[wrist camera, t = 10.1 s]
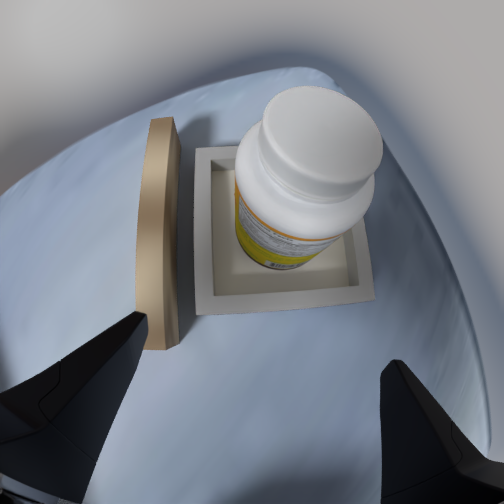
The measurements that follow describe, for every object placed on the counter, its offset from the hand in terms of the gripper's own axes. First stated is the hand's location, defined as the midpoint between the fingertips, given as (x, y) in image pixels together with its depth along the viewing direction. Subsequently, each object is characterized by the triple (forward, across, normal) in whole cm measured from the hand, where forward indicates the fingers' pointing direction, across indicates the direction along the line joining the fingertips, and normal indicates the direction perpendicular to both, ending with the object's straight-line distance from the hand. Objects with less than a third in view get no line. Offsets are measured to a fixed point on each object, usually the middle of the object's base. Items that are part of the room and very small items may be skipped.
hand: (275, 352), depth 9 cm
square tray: (+10, 0, 0) cm, 10 cm away
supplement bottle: (+10, 0, 0) cm, 10 cm away
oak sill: (+9, +7, +2) cm, 12 cm away
